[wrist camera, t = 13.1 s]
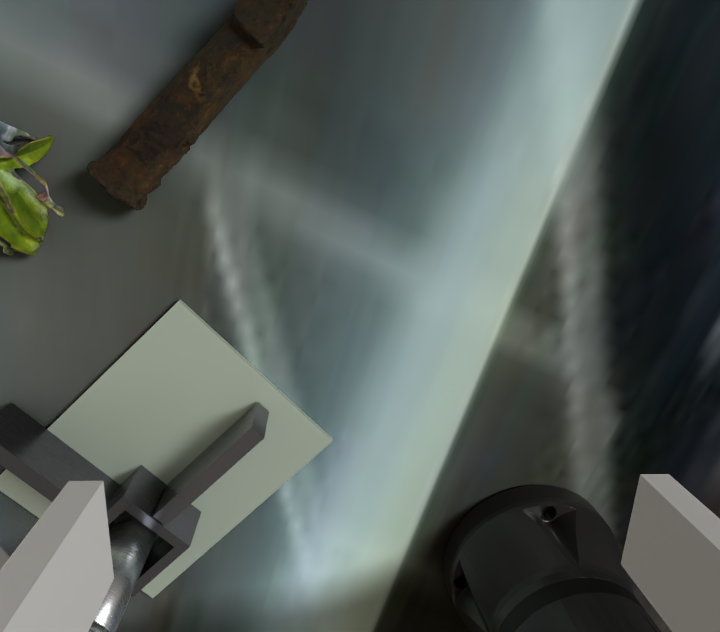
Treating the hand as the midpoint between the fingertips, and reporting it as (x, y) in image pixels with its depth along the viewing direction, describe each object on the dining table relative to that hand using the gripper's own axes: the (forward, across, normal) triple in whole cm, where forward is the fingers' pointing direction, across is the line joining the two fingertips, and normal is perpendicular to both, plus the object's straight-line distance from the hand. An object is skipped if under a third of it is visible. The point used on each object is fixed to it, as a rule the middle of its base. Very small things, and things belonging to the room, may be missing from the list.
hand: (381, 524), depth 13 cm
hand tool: (+27, +9, -13) cm, 32 cm away
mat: (+27, +13, +14) cm, 33 cm away
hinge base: (+26, +18, +16) cm, 36 cm away
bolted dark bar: (+26, +9, +13) cm, 30 cm away
